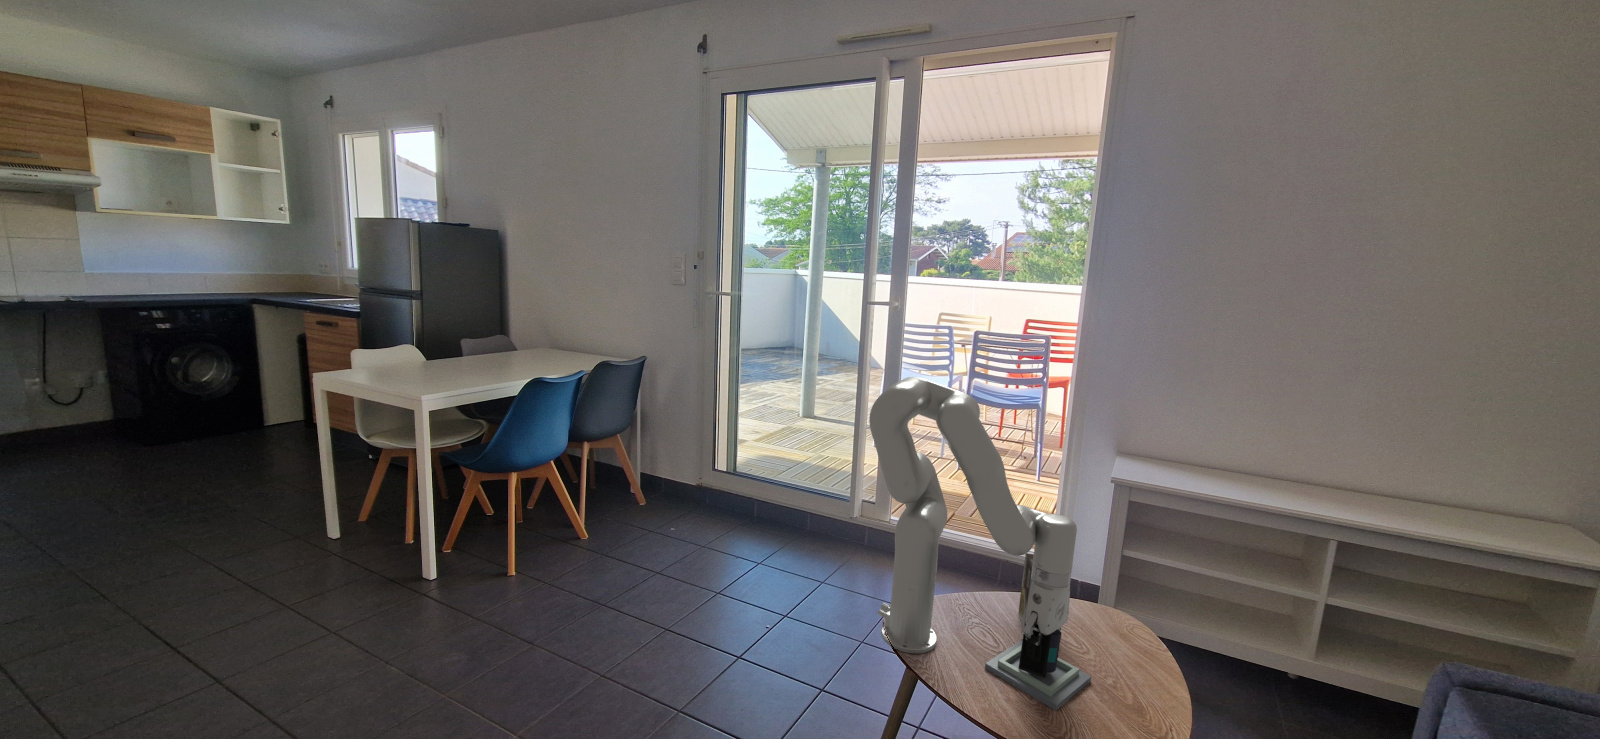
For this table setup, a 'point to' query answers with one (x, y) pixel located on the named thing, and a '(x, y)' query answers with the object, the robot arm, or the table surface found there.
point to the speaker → (1042, 654)
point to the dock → (1039, 678)
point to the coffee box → (1025, 587)
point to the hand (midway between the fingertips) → (1041, 652)
